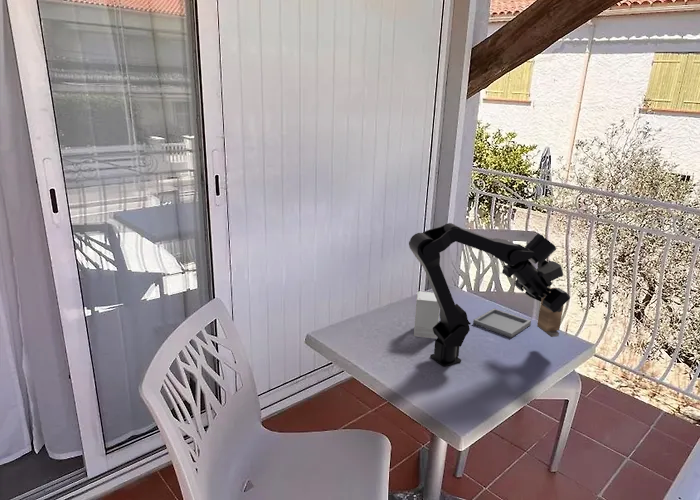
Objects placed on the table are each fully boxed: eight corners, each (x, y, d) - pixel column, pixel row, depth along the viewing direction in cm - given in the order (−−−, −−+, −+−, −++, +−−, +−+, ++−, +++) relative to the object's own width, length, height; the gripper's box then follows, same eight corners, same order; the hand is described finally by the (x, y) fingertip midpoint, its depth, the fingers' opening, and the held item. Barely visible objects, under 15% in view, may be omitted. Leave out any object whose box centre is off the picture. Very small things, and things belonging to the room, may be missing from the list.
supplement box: (437, 339, 151) (440, 302, 147) (413, 336, 152) (415, 299, 149) (437, 328, 158) (440, 292, 154) (415, 326, 159) (417, 290, 156)
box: (511, 338, 153) (511, 333, 152) (473, 323, 162) (473, 319, 161) (530, 324, 162) (531, 320, 162) (493, 312, 171) (494, 308, 171)
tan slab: (548, 337, 141) (555, 295, 137) (534, 326, 148) (540, 286, 144) (561, 336, 142) (568, 294, 138) (546, 325, 149) (553, 285, 145)
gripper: (569, 265, 128) (597, 300, 134) (528, 244, 145) (555, 277, 151) (538, 294, 129) (568, 329, 134) (502, 271, 146) (529, 302, 152)
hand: (555, 307), depth 143 cm, fingers closed on tan slab, 4 cm apart
